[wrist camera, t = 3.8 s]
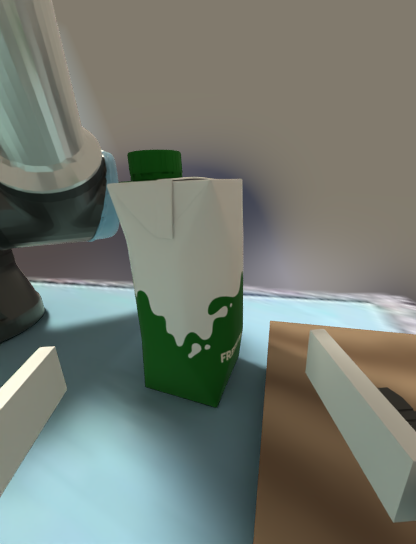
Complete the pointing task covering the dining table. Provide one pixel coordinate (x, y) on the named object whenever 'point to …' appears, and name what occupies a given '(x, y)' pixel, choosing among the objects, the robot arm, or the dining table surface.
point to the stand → (323, 444)
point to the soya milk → (184, 272)
